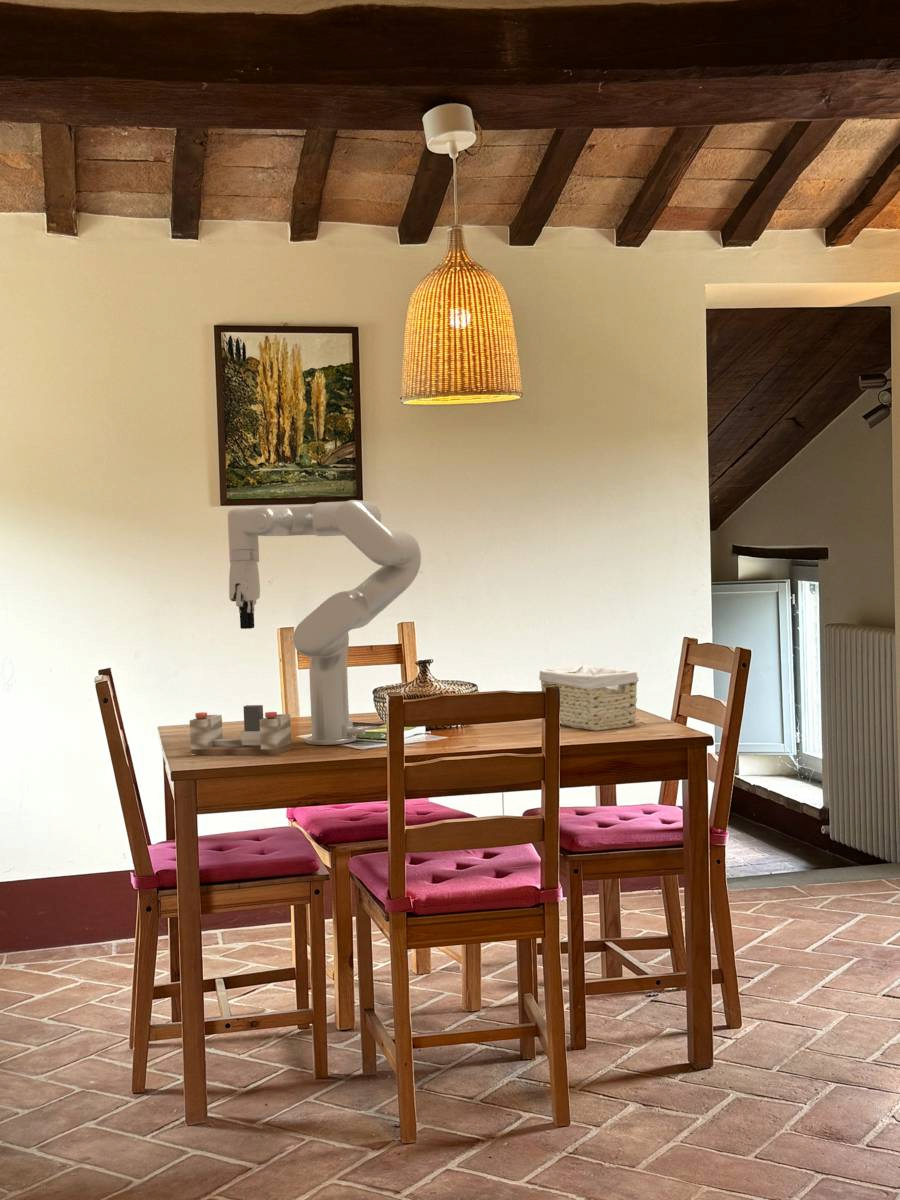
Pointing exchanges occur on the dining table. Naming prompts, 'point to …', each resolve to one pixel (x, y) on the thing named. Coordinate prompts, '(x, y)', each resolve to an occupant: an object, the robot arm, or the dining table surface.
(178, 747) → the dining table surface
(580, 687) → the storage basket
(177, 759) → the dining table surface
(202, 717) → the red rounded knob
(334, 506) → the robot arm
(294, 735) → the dining table surface
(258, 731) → the carriage
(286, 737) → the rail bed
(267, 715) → the red knob cap
